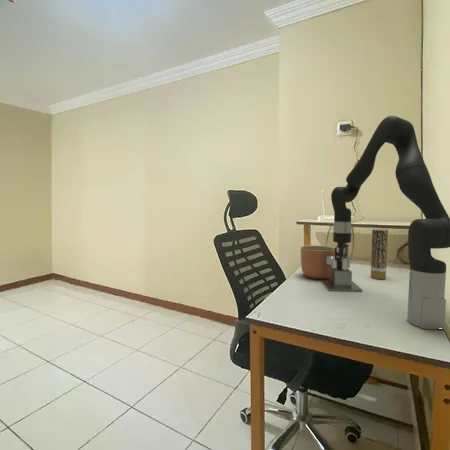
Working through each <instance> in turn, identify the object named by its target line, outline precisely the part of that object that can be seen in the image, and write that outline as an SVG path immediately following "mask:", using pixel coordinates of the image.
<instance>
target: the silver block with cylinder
mask: <svg viewBox="0 0 450 450" xmlns="http://www.w3.org/2000/svg"><path fill="white" fill-rule="evenodd" d="M338 258H340V257H338ZM326 265H329V266H332V268H336V271H346V270H347V269H350V267H351V256H350V255H348V256H344V257H343V261H342V270H337V261H335V256H327V257H326Z"/></svg>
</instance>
